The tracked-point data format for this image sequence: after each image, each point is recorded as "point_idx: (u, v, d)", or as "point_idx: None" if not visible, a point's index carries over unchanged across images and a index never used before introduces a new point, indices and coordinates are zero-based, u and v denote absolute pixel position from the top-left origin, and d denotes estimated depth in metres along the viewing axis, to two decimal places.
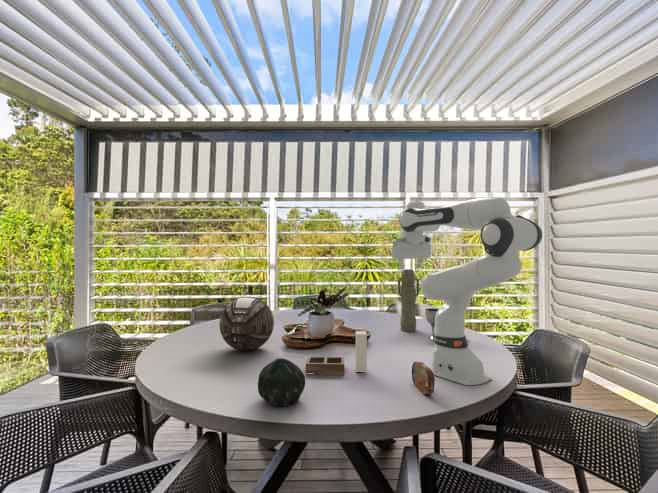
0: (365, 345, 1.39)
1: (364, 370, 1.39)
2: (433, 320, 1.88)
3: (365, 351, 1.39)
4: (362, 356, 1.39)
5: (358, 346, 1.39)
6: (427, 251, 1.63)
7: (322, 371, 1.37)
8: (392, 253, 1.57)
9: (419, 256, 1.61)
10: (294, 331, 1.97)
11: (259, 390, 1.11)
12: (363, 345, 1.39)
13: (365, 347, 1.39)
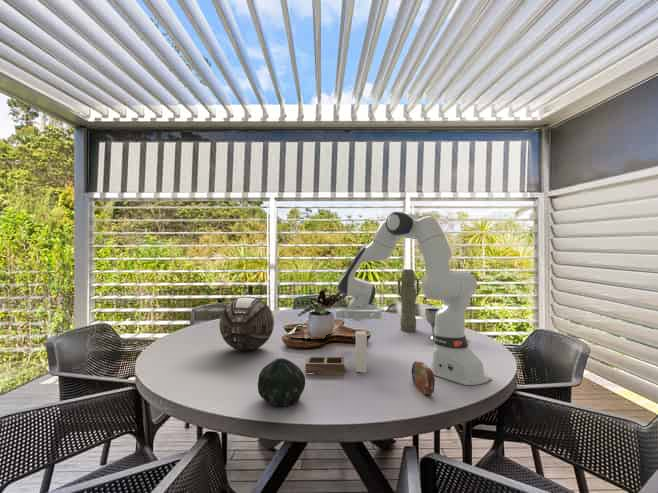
0: (365, 345, 1.39)
1: (364, 370, 1.39)
2: (433, 320, 1.88)
3: (365, 351, 1.39)
4: (362, 356, 1.39)
5: (358, 346, 1.39)
6: (376, 309, 1.61)
7: (322, 371, 1.37)
8: None
9: (366, 310, 1.59)
10: (294, 331, 1.97)
11: (259, 390, 1.11)
12: (363, 345, 1.39)
13: (365, 347, 1.39)
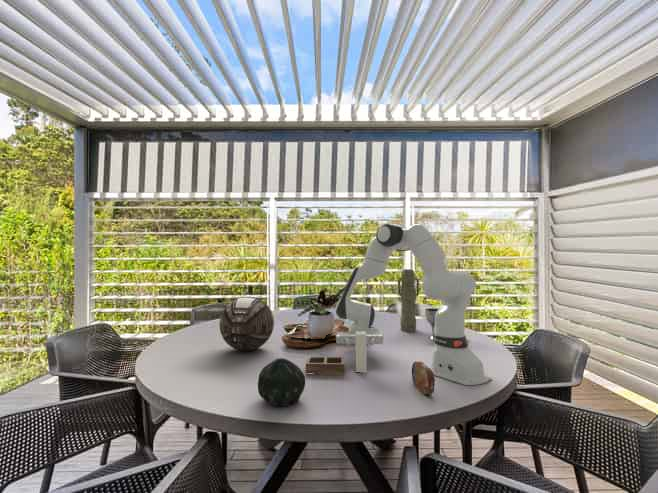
0: (365, 345, 1.39)
1: (364, 370, 1.39)
2: (433, 320, 1.88)
3: (365, 351, 1.39)
4: (362, 356, 1.39)
5: (358, 346, 1.39)
6: (377, 333, 1.56)
7: (322, 371, 1.37)
8: None
9: (367, 335, 1.54)
10: (294, 331, 1.97)
11: (259, 390, 1.11)
12: (363, 345, 1.39)
13: (365, 347, 1.39)
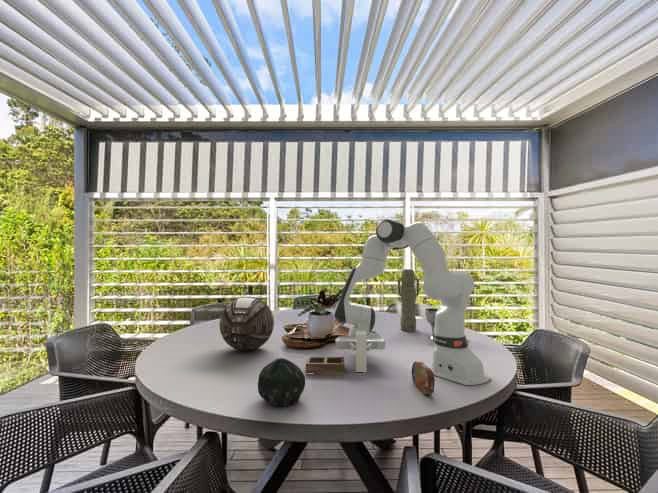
0: (365, 345, 1.39)
1: (364, 370, 1.39)
2: (433, 320, 1.88)
3: (365, 351, 1.39)
4: (362, 356, 1.39)
5: (358, 346, 1.39)
6: (379, 338, 1.48)
7: (322, 371, 1.37)
8: None
9: (368, 340, 1.46)
10: (294, 331, 1.97)
11: (259, 390, 1.11)
12: (363, 345, 1.39)
13: (365, 347, 1.39)
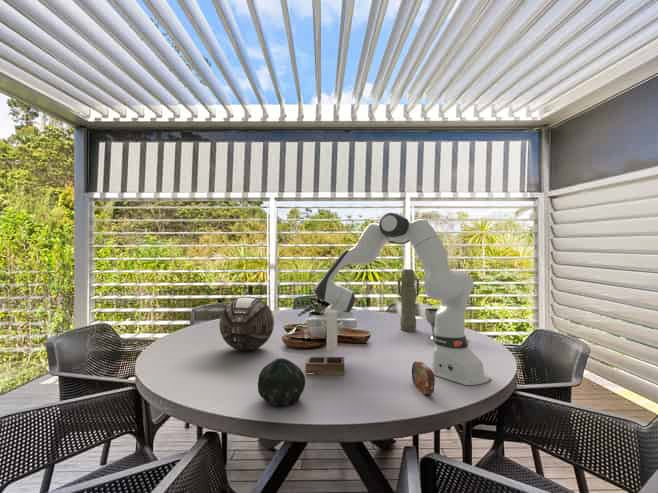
0: (335, 323, 1.39)
1: (334, 348, 1.40)
2: (433, 320, 1.88)
3: (335, 329, 1.40)
4: (333, 334, 1.40)
5: (328, 324, 1.40)
6: (351, 317, 1.49)
7: (322, 371, 1.37)
8: None
9: (340, 319, 1.47)
10: (294, 331, 1.97)
11: (259, 390, 1.11)
12: (333, 323, 1.40)
13: (335, 325, 1.39)
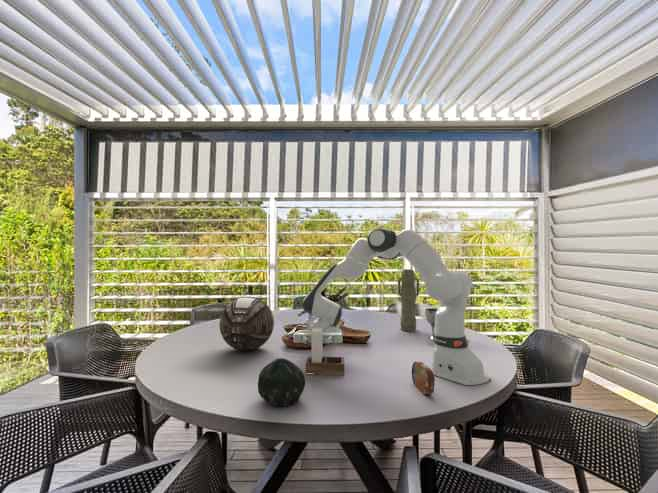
0: (320, 342, 1.39)
1: None
2: (433, 320, 1.88)
3: (320, 348, 1.39)
4: (317, 353, 1.39)
5: (313, 343, 1.39)
6: (337, 332, 1.49)
7: (322, 371, 1.37)
8: None
9: (325, 333, 1.46)
10: (294, 331, 1.97)
11: (259, 390, 1.11)
12: (318, 342, 1.39)
13: (320, 344, 1.39)
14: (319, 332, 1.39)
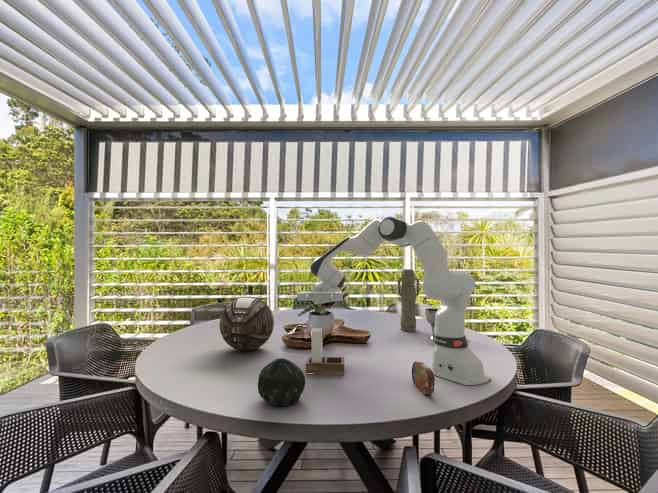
0: (320, 342, 1.39)
1: None
2: (433, 320, 1.88)
3: (320, 348, 1.39)
4: (317, 353, 1.39)
5: (313, 343, 1.39)
6: (337, 291, 1.61)
7: (322, 371, 1.37)
8: None
9: (327, 292, 1.59)
10: (294, 331, 1.97)
11: (259, 390, 1.11)
12: (318, 342, 1.39)
13: (320, 344, 1.39)
14: (319, 332, 1.39)
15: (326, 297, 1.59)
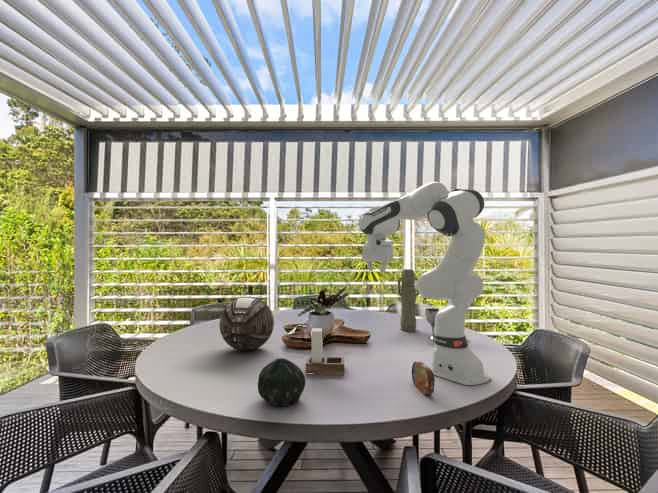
0: (320, 342, 1.39)
1: None
2: (433, 320, 1.88)
3: (320, 348, 1.39)
4: (317, 353, 1.39)
5: (313, 343, 1.39)
6: (383, 254, 1.60)
7: (322, 371, 1.37)
8: None
9: (377, 259, 1.64)
10: (294, 331, 1.97)
11: (259, 390, 1.11)
12: (318, 342, 1.39)
13: (320, 344, 1.39)
14: (319, 332, 1.39)
15: None
